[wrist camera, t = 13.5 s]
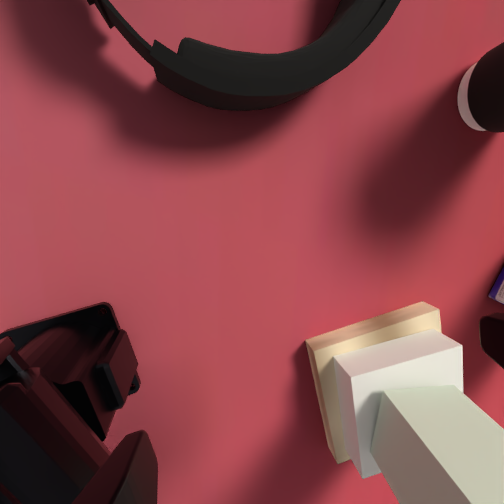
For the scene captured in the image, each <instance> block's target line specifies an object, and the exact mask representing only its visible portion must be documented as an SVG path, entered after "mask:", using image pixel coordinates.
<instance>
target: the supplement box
mask: <svg viewBox="0 0 504 504" xmlns="http://www.w3.org/2000/svg"><path fill="white" fill-rule="evenodd" d="M488 297H490V298H492V299H494V300H496V301H498V302H500V303H502V304H504V267H503V269H502V271H501V273H500V275H499V276H498V278H497V280H496V282H495V284H494V286H493V288H492V290H491V291H490V293H489V295H488Z"/></svg>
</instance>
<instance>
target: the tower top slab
mask: <svg viewBox="0 0 504 504" xmlns="http://www.w3.org/2000/svg"><path fill="white" fill-rule="evenodd" d="M333 360H334V367H335V375H336V383H337V391H338V399H339V406H340V414H341V422H342V430H343V437H344V445H345V450H346V451H347V453H348V455H349V456H350V458H351V460H352V462H353V463H354V465H355V467H356V468H357V470H358V472H359V474H360V475H361V477H362V479H364V478H367V477H370V476H373V475H376V474H378V473H381V470H380V468H379V467H378V465H377V463H376V461H375V460H374V458H373V456H372V454H371V453H370V450H371V446H372V441H373V436H374V431H375V426H376V422H377V417H378V412H379V407H380V402H381V398H382V393H383V390H395V389H407V388H419V387H431V386H444V385H455V386H456V387H457V388H458V389H459V390H460V391H461V392H462V393H463V351H462V345H461V344H459V343H458V342H456V341H454V340H452V339H451V338H449V337H447V336H445V335H444V334H442V333H440V332H438V331H436V330H435V329H430V330H426V331H423V332H419V333H415V334H412V335H408V336H405V337H401V338H397V339H394V340H390V341H386V342H383V343H379V344H376V345H372V346H368V347H365V348H361V349H357V350H354V351H350V352H347V353H343V354H339V355H336V356H333Z"/></svg>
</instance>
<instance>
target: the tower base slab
mask: <svg viewBox="0 0 504 504" xmlns="http://www.w3.org/2000/svg"><path fill="white" fill-rule="evenodd" d="M430 329H435V330H436V331H438V332H440V333H441V323H440V313H439V309H438V308H436V307H433V306H431V305H429V304H427V303H425V302H423V301H422V302H419V303H416V304H413V305H410V306H407V307H404V308H401V309H398V310H395V311H392V312H389V313H385V314H382V315H379V316H376V317H373V318H370V319H367V320H364V321H361V322H358V323H355V324H352V325H349V326H346V327H343V328H340V329H337V330H334V331H331V332H328V333H325V334H322V335H319V336H316V337H313V338H310V339H307V340H305V342H306V346H307V351H308V355H309V360H310V365H311V369H312V374H313V378H314V383H315V388H316V392H317V397H318V401H319V406H320V411H321V415H322V420H323V424H324V429H325V434H326V438H327V443H328V447H329V449H330V451H331V453H332V455H333V456H334V458H335V460H336V462H337V464H340V463H342V462H345V461H347V460H350V459H351V458H350V456H349V455H348V453H347V451H346V450H345V445H344V437H343V430H342V422H341V414H340V406H339V399H338V391H337V383H336V375H335V367H334V360H333V356H336V355H339V354H343V353H347V352H350V351H354V350H357V349H361V348H365V347H368V346H372V345H376V344H379V343H383V342H386V341H390V340H394V339H397V338H401V337H405V336H408V335H412V334H415V333H419V332H423V331H426V330H430Z"/></svg>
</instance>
